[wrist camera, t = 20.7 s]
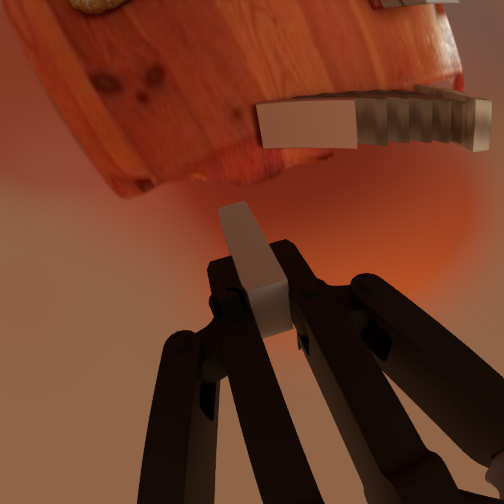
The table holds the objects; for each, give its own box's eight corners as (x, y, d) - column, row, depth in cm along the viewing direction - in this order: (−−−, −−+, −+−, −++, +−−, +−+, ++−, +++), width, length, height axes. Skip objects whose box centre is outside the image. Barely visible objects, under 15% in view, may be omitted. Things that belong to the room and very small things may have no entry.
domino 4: (347, 92, 34) (431, 100, 28) (352, 91, 36) (432, 98, 29) (350, 131, 38) (431, 143, 31) (355, 128, 39) (431, 139, 32)
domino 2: (291, 98, 33) (385, 99, 28) (297, 96, 35) (386, 97, 29) (297, 141, 37) (387, 146, 31) (302, 136, 38) (387, 141, 33)
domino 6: (392, 90, 36) (462, 103, 27) (399, 89, 37) (466, 103, 28) (394, 125, 39) (461, 143, 31) (400, 123, 40) (465, 141, 31)
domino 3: (318, 95, 34) (408, 99, 28) (322, 93, 35) (408, 97, 29) (322, 136, 37) (408, 143, 31) (326, 132, 39) (408, 139, 33)
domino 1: (255, 104, 33) (353, 100, 28) (261, 101, 34) (354, 98, 30) (263, 148, 36) (356, 148, 32) (268, 143, 38) (357, 143, 33)
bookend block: (415, 84, 36) (475, 99, 26) (434, 85, 37) (491, 101, 26) (417, 128, 41) (472, 151, 31) (434, 126, 42) (488, 149, 31)
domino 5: (371, 91, 35) (449, 102, 27) (377, 89, 36) (451, 100, 28) (373, 128, 39) (448, 143, 31) (379, 125, 40) (450, 140, 32)
